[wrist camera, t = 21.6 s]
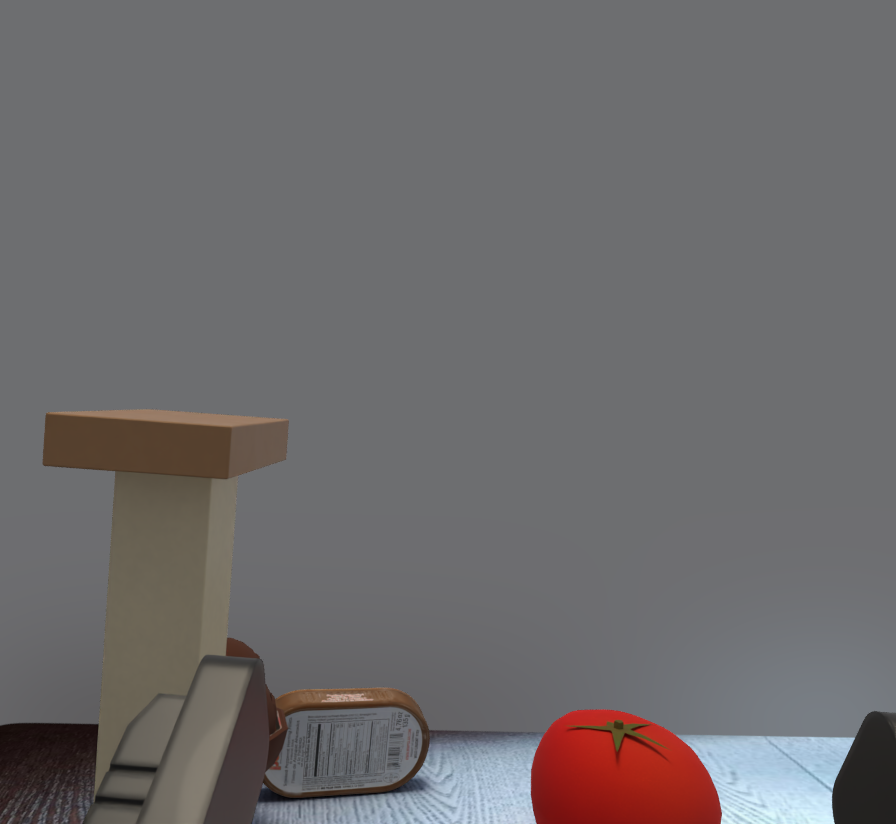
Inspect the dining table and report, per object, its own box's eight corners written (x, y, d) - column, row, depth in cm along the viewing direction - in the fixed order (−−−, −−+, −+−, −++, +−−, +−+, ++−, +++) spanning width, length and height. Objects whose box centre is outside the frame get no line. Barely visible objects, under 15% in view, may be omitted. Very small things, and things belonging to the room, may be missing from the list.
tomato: (585, 809, 70) (595, 673, 70) (739, 886, 60) (752, 729, 60) (484, 857, 62) (495, 703, 61) (644, 957, 52) (658, 773, 51)
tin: (419, 776, 74) (426, 682, 74) (429, 793, 71) (437, 695, 71) (245, 789, 69) (252, 688, 69) (248, 807, 66) (255, 702, 66)
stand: (187, 1275, 31) (245, 426, 31) (-23, 1255, 32) (31, 411, 31) (254, 1063, 41) (299, 420, 41) (95, 1049, 42) (137, 408, 41)
